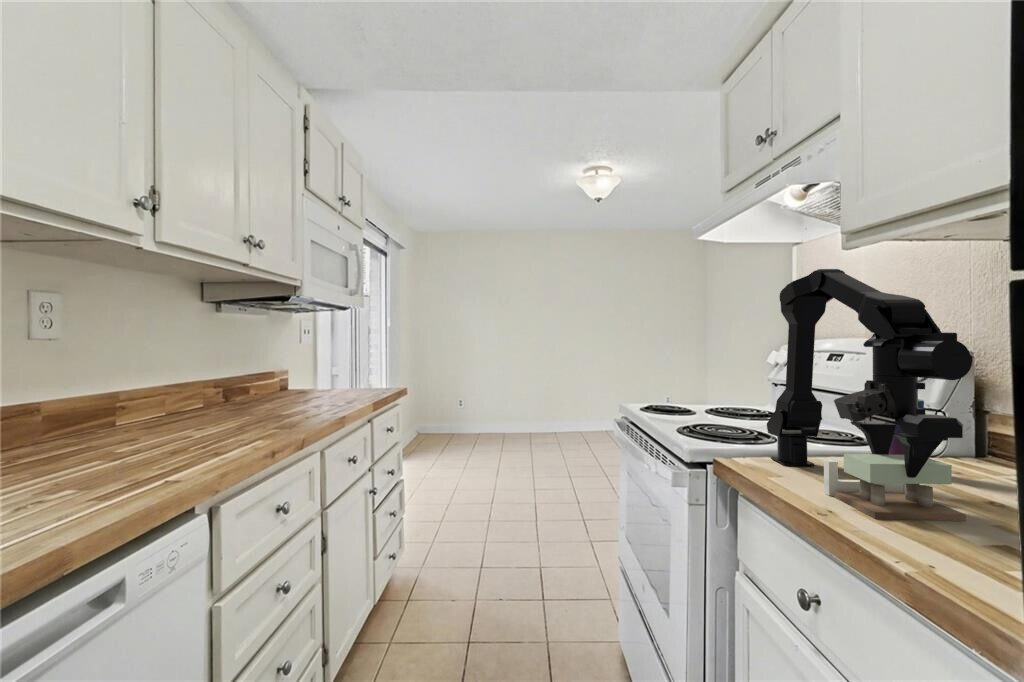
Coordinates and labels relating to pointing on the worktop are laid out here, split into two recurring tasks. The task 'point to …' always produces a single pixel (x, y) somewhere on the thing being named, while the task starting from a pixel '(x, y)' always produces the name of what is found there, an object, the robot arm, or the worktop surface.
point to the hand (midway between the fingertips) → (895, 471)
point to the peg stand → (899, 503)
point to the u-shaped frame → (849, 482)
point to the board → (895, 469)
